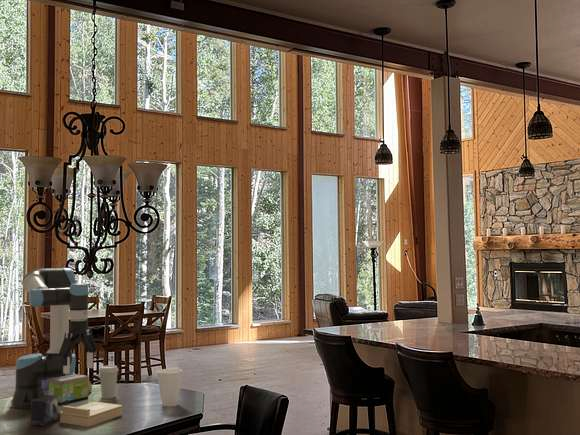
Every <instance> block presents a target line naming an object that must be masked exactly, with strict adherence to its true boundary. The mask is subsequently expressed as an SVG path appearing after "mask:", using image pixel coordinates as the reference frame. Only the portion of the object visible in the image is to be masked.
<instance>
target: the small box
mask: <svg viewBox="0 0 580 435" xmlns="http://www.w3.org/2000/svg"><path fill="white" fill-rule="evenodd" d="M30 410H31V412H30V426H36V425H39V426H38V427H44V426H46V425H48V424H51V423H54V422H55V421H57V420H58V415H59V413H57V412H58V396H52V395H49V394H44V396H42V397H39V398H37V399H34V400H32V405H31V408H30Z"/></svg>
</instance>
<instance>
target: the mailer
mask: <svg viewBox="0 0 580 435" xmlns="http://www.w3.org/2000/svg"><path fill="white" fill-rule="evenodd" d="M122 409H123V407H119V408H116V409H113V410H110V411H107V412H104V413H101V414H98V415H95V416H92V417H89V418H88V417H81V416H74V415H67V414H60V413H59V414H60V416H59V417H60V418H59V419H60V420H59V422H60V423H62V424H69V425H75V426H82V427H92V426H94V425H97V424H100V423H103V422H106V421H109V420H112V419H114V418H118V417H121V416H122V414H123V412H122Z"/></svg>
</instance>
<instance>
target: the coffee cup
mask: <svg viewBox="0 0 580 435" xmlns="http://www.w3.org/2000/svg"><path fill="white" fill-rule="evenodd" d="M119 371H120V370H119V368H118V366H117V365H113V364H111V365H104V366H100V368H99V369H98V373H99V380H100V390H101V399H107V400H108V399H114V398H115V397H116V394H117V382H118V374H119V373H118V372H119Z"/></svg>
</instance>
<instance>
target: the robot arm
mask: <svg viewBox="0 0 580 435" xmlns="http://www.w3.org/2000/svg"><path fill="white" fill-rule="evenodd" d="M21 281H22V282H21V286H22V288H23V290H24V291H25V292H26V293H28V304H29V306H30V307H37V308H40V307H50V311H49V312H50V318H49V319H50V321H49V326H50V328H49V329H50V330H49V331H50V332H49V349H48V350H47V351H46V356H44V355H43V354H42V353H39V352H38V353H31V354H26V355H23V356H20V357H18V358H17V359H16V362H15V368H14V369H15V388H14V389H15V390H14V393H13V396H12V399H11V401H10V406H11V407H12V408H14V409H31V405H32V400H34V399H37V398H39V397H42V396H44V395H45V393H44V390H43V382H45V381H49V379H52V378H58V377H63V376H68V375H73V374H75V368H76V362H77V361H76V358H77V357H76V354H75V353H73V349H74V347H75V345H76V344H78V343H82V344H83V346H84V347H85V348H86V350H87V352H86V369H87V368H88V369H94V368H93V367H94V357H95V356H94V354H95V353H96V352H97V351H98V346H97V343H96V341H95V337H94V335H93V330H92V329H89V321H88V318H89V292H90V290H89V285H88V284H87V283H76V281H77V280H76V276H75V273H74V270H73V269H72V268H69V267H57V268H55V267H54V268H52V267H51V268H43V267H42V268H36V269H33V270H31V271H29V272H27V273H26V274H25V275H24V276H23V277H22V280H21Z"/></svg>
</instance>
